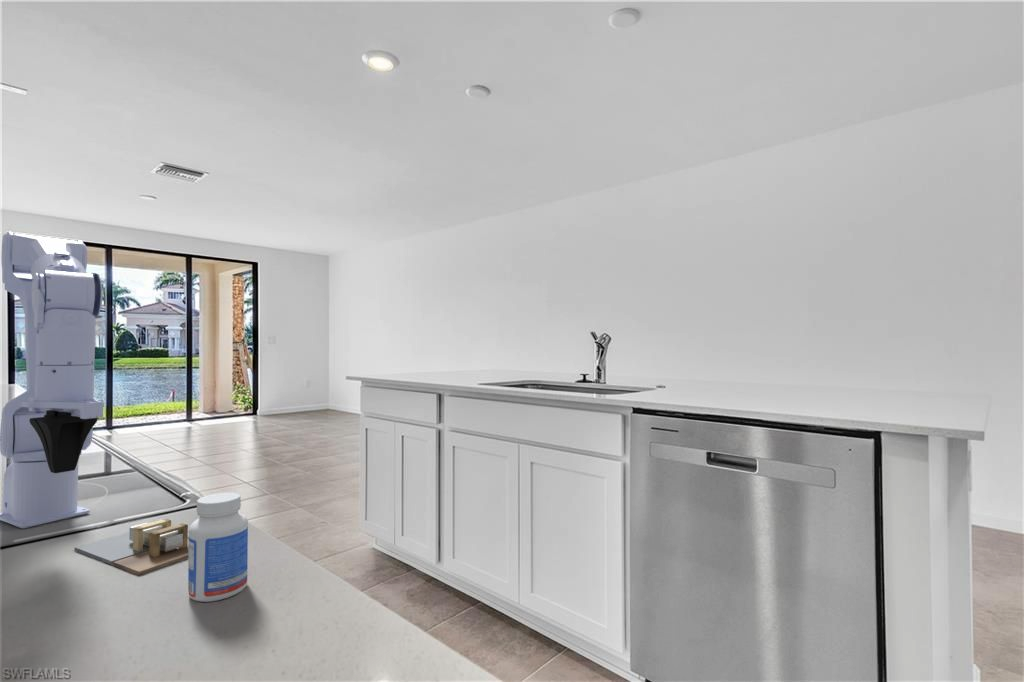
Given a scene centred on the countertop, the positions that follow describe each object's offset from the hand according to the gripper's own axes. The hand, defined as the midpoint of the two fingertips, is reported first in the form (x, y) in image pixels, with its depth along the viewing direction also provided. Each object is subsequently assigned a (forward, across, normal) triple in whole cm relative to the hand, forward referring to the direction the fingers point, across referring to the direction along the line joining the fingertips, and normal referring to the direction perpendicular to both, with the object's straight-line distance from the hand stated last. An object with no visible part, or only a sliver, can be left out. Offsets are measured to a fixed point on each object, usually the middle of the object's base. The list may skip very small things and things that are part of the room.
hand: (62, 471), depth 65 cm
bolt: (+9, +12, +5) cm, 16 cm away
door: (+9, +8, +5) cm, 13 cm away
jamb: (+9, +15, +5) cm, 19 cm away
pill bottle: (+10, +29, +2) cm, 31 cm away
